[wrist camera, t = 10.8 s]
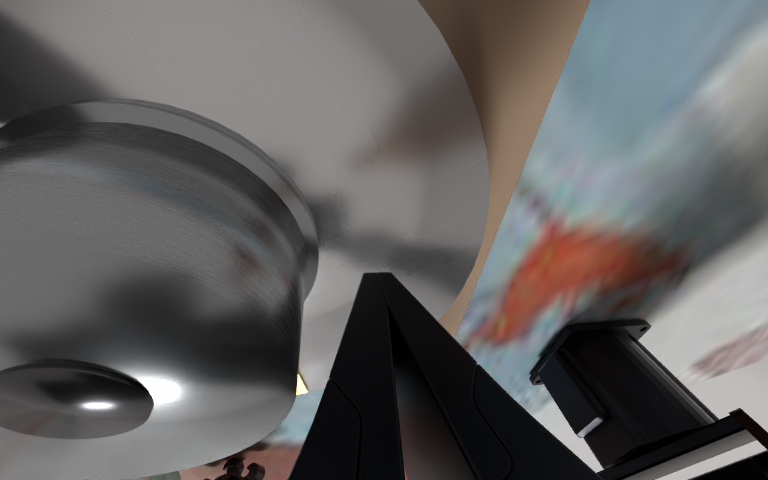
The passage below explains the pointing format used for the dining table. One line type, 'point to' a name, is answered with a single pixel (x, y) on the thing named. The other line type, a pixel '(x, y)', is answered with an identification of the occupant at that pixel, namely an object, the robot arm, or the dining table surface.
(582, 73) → the dining table surface
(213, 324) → the cover
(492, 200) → the base board
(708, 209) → the dining table surface
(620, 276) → the dining table surface
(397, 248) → the turntable
